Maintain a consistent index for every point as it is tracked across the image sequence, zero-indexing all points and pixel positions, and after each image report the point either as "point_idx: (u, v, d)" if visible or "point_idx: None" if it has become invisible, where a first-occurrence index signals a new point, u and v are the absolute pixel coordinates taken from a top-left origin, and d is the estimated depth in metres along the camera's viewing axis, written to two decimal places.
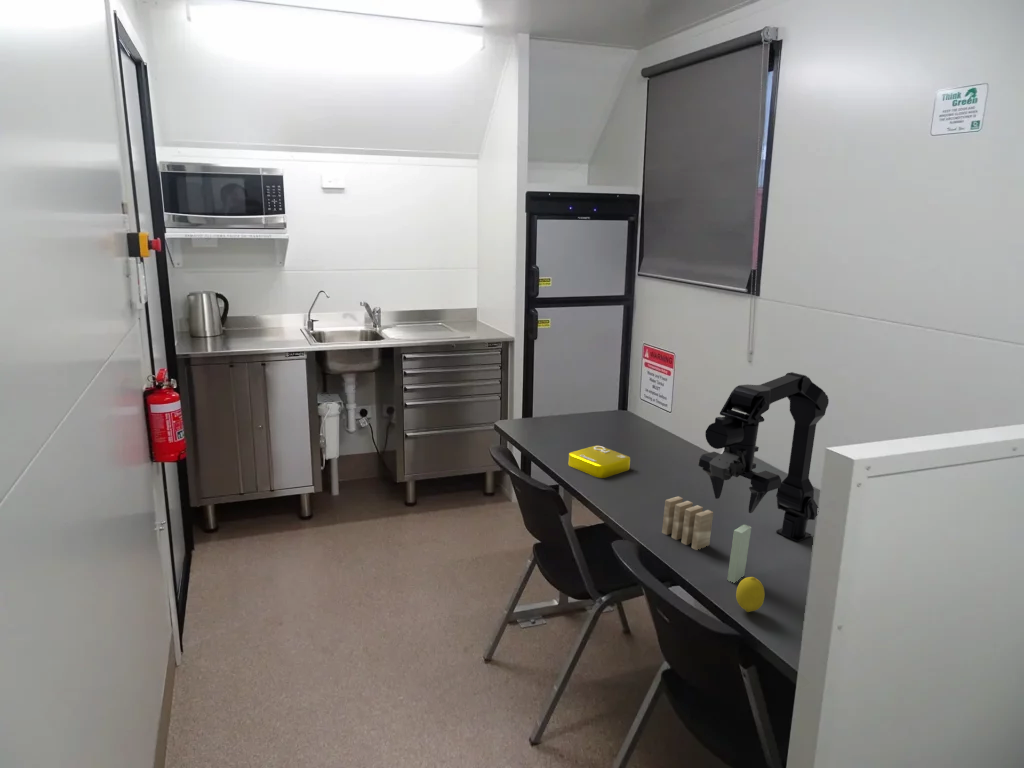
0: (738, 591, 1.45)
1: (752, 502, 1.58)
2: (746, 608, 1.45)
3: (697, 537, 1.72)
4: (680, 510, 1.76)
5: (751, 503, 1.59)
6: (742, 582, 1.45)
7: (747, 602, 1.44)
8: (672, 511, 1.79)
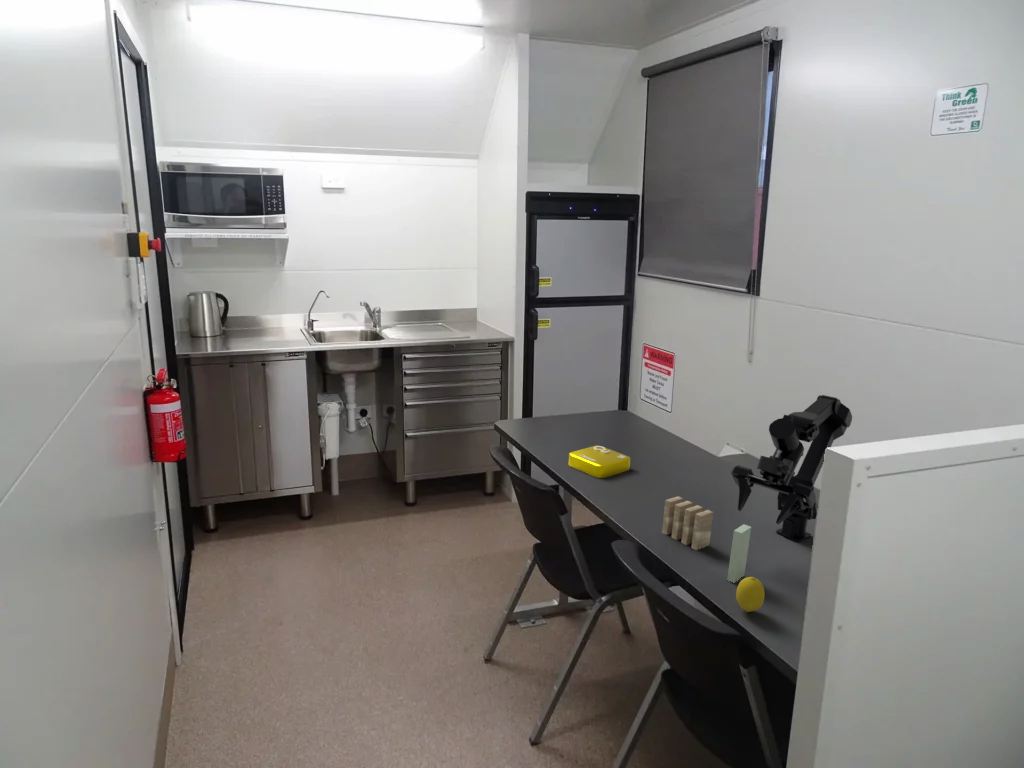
0: (738, 591, 1.45)
1: (784, 510, 1.59)
2: (746, 608, 1.45)
3: (697, 537, 1.72)
4: (680, 509, 1.76)
5: (783, 512, 1.59)
6: (742, 582, 1.45)
7: (747, 602, 1.44)
8: (672, 511, 1.79)
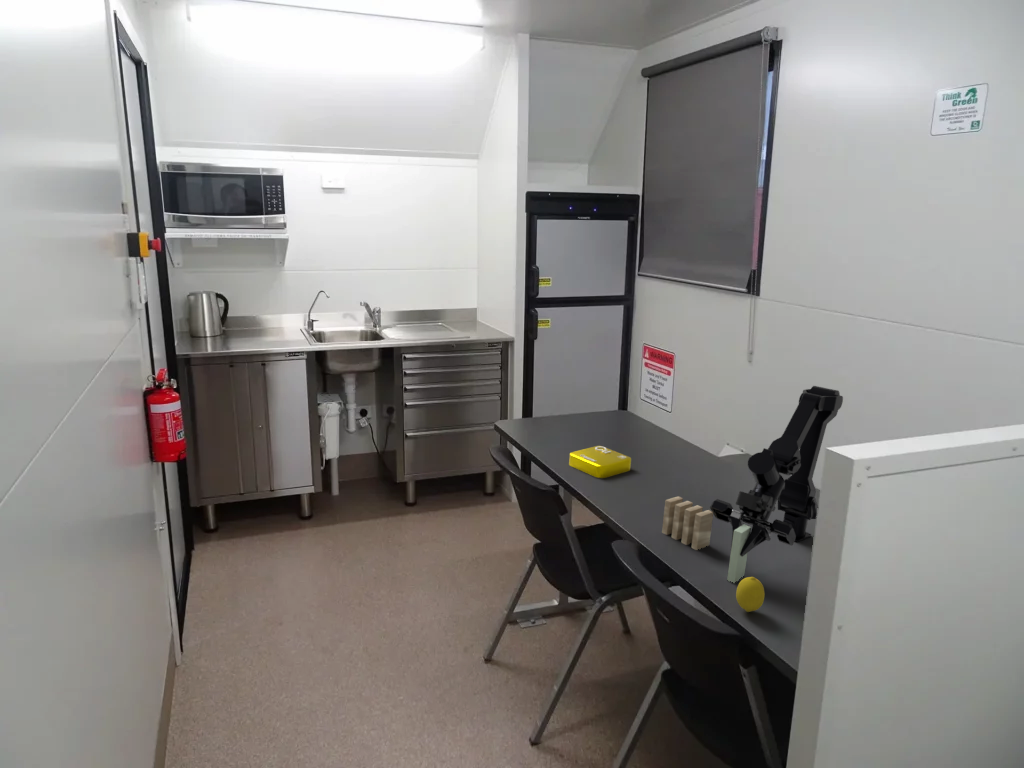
0: (738, 591, 1.45)
1: (748, 542, 1.57)
2: (746, 608, 1.45)
3: (697, 537, 1.72)
4: (680, 510, 1.76)
5: (747, 544, 1.57)
6: (742, 582, 1.45)
7: (747, 602, 1.44)
8: (672, 511, 1.79)
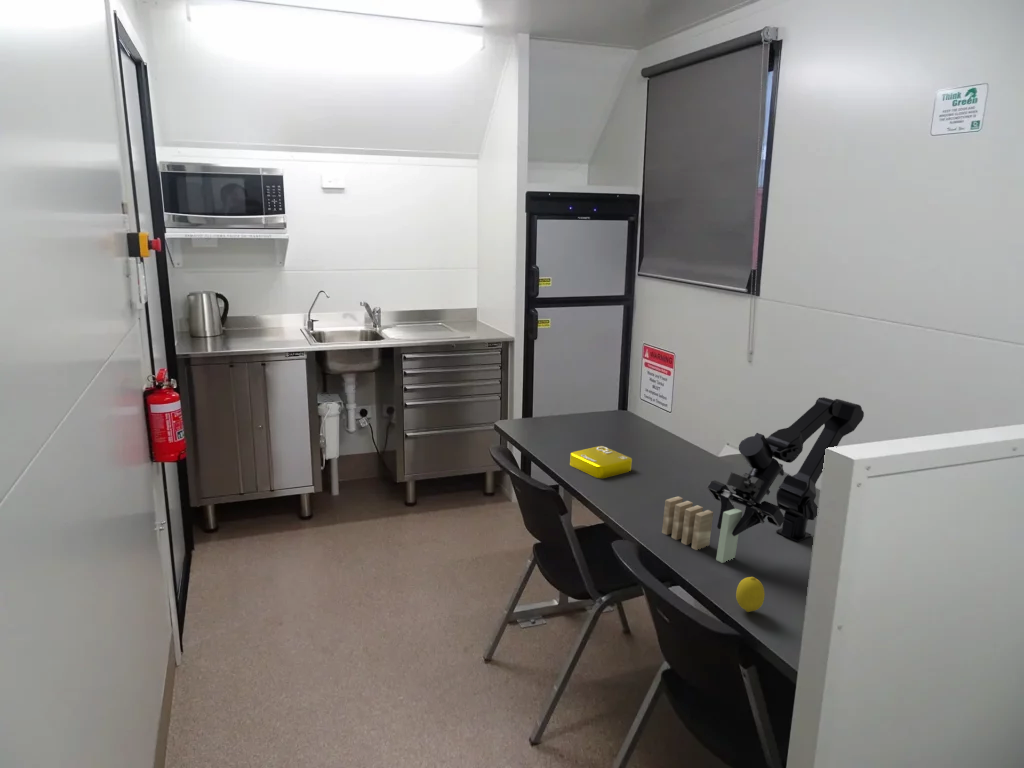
0: (738, 591, 1.45)
1: (741, 523, 1.64)
2: (746, 608, 1.45)
3: (697, 537, 1.72)
4: (680, 510, 1.76)
5: (739, 524, 1.64)
6: (742, 582, 1.45)
7: (747, 602, 1.44)
8: (672, 511, 1.79)
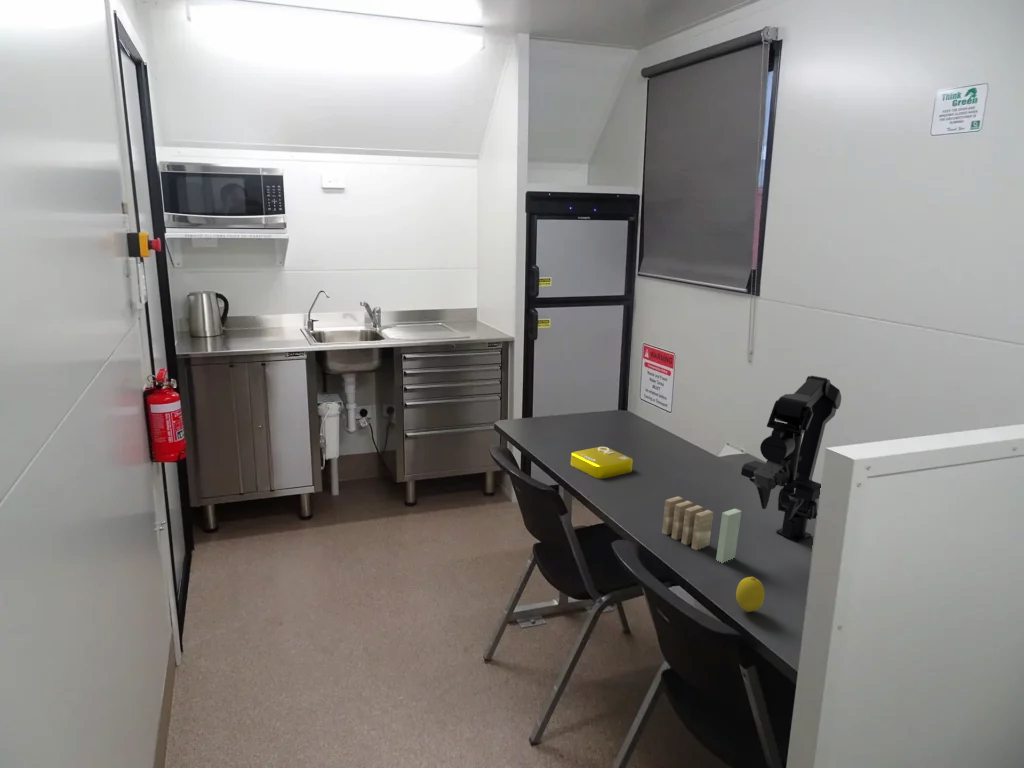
0: (738, 591, 1.45)
1: (791, 509, 1.62)
2: (746, 608, 1.45)
3: (697, 537, 1.72)
4: (680, 510, 1.76)
5: (790, 510, 1.62)
6: (742, 582, 1.45)
7: (747, 602, 1.44)
8: (672, 511, 1.79)
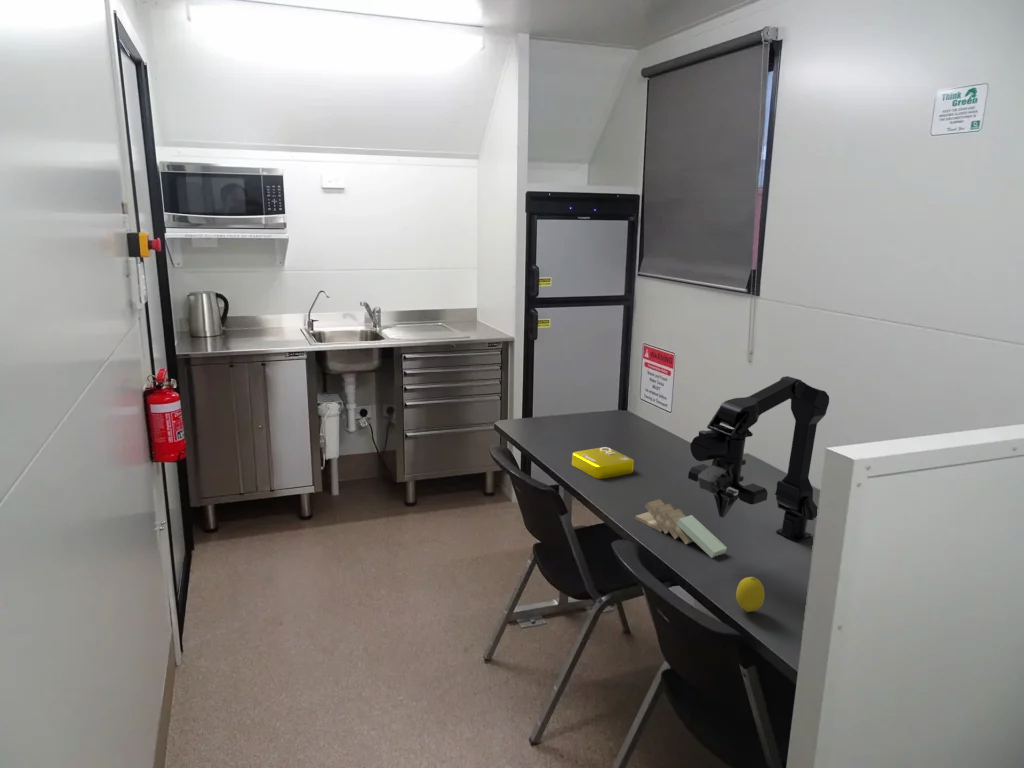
0: (738, 591, 1.45)
1: (724, 507, 1.66)
2: (746, 608, 1.45)
3: (680, 530, 1.76)
4: (650, 505, 1.84)
5: (723, 508, 1.67)
6: (742, 582, 1.45)
7: (747, 602, 1.44)
8: (646, 518, 1.87)
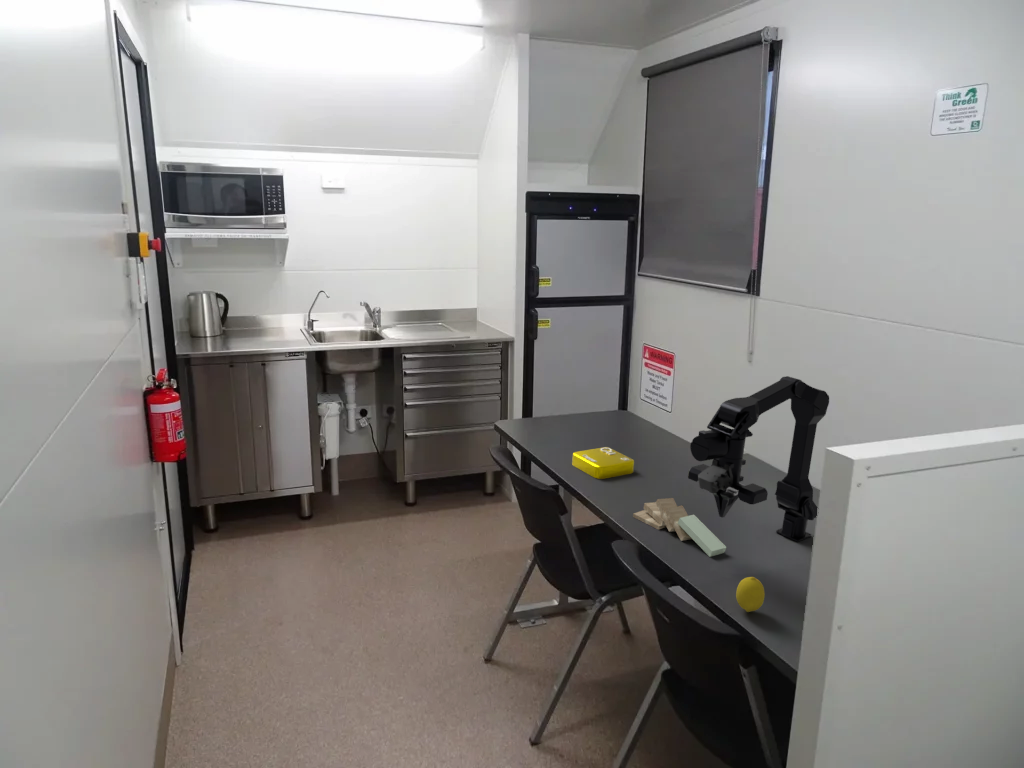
0: (738, 591, 1.45)
1: (724, 507, 1.66)
2: (746, 608, 1.45)
3: (677, 526, 1.78)
4: (647, 504, 1.90)
5: (723, 508, 1.67)
6: (742, 582, 1.45)
7: (747, 602, 1.44)
8: (644, 516, 1.88)
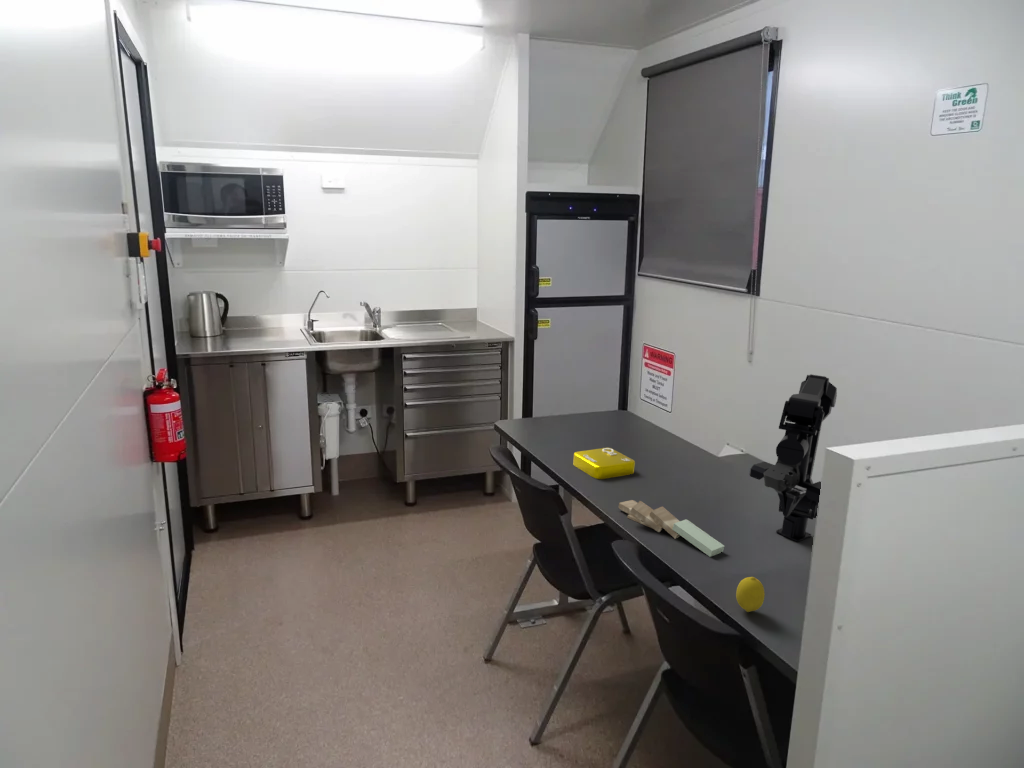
0: (738, 591, 1.45)
1: (789, 506, 1.61)
2: (746, 608, 1.45)
3: (667, 525, 1.79)
4: (622, 503, 1.92)
5: (788, 507, 1.62)
6: (742, 582, 1.45)
7: (747, 602, 1.44)
8: None
